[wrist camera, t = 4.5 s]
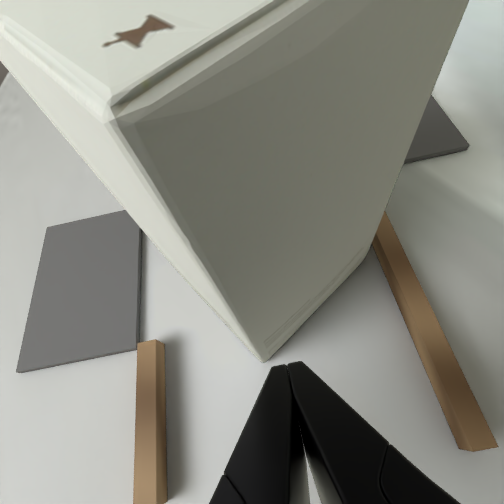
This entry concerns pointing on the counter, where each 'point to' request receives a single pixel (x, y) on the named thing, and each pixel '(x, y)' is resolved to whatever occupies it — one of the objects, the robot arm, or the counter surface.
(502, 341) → the counter surface
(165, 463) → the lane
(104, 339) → the pads
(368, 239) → the supplement box
